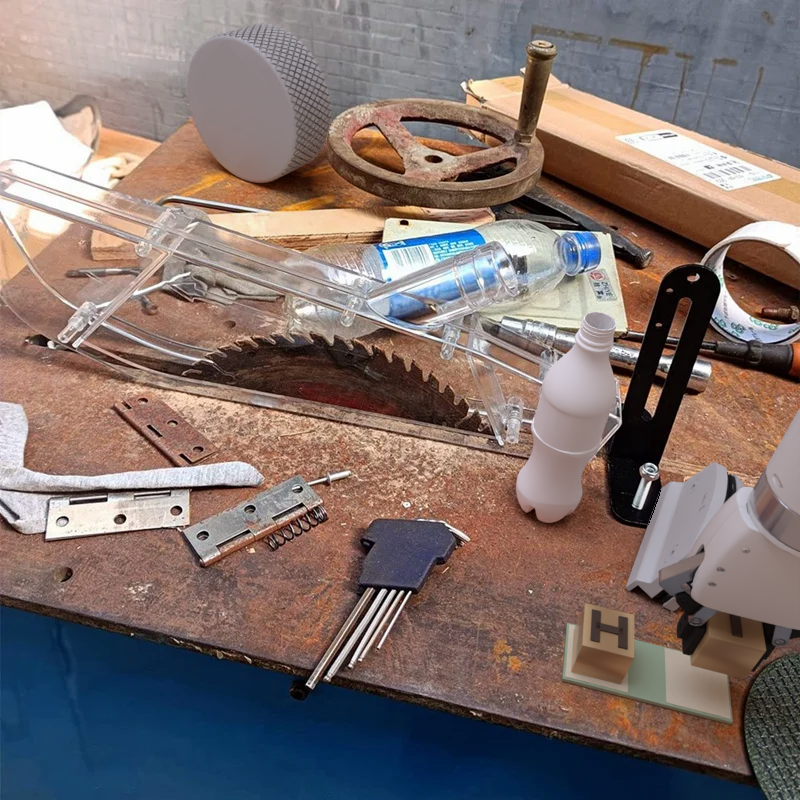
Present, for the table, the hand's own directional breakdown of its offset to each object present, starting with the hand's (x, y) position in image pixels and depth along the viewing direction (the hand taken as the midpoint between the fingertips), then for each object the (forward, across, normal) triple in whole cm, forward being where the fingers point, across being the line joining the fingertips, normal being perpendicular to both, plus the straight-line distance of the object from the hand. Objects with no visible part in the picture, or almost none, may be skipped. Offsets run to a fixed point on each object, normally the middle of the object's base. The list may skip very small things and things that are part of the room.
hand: (716, 647), depth 65 cm
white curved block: (+7, 0, -16) cm, 17 cm away
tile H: (+6, +9, 0) cm, 11 cm away
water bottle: (+7, +15, -18) cm, 25 cm away
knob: (+7, +75, -86) cm, 115 cm away
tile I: (0, 0, 0) cm, 0 cm away
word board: (+7, +4, 0) cm, 8 cm away
